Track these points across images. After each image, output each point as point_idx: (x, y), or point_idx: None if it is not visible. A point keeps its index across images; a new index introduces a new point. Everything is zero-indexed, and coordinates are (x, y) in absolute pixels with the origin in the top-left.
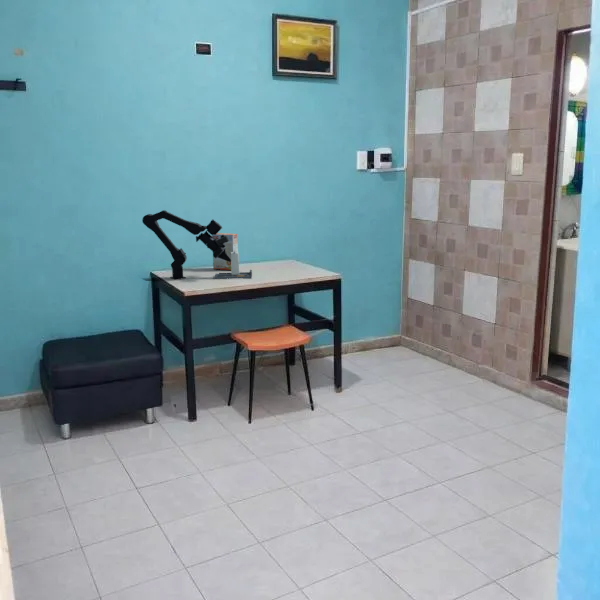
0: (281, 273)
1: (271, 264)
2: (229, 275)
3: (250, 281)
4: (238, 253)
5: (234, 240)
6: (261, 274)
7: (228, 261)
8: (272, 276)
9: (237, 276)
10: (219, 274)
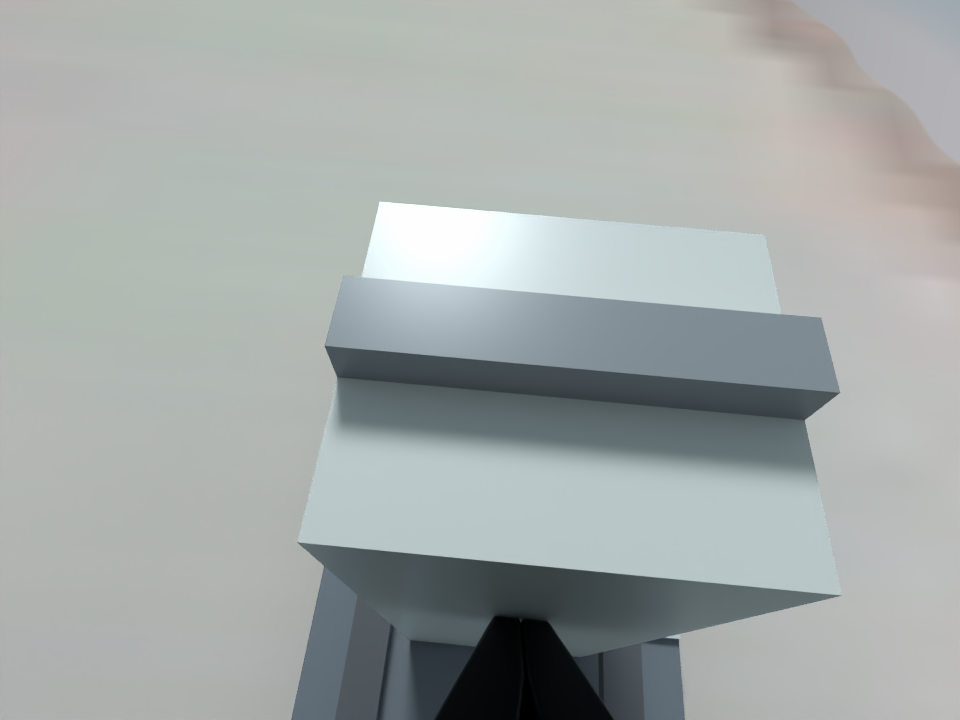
0: (373, 60)
1: None
2: (640, 708)
3: (883, 376)
4: (557, 242)
5: None
6: (371, 219)
7: None
8: (537, 139)
9: None
10: None
